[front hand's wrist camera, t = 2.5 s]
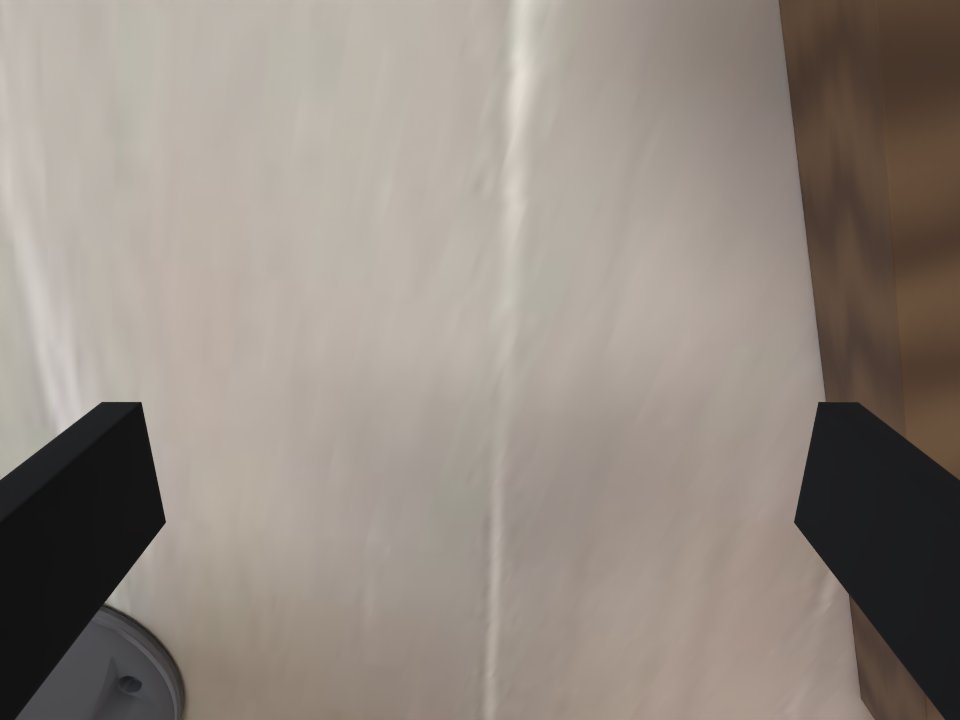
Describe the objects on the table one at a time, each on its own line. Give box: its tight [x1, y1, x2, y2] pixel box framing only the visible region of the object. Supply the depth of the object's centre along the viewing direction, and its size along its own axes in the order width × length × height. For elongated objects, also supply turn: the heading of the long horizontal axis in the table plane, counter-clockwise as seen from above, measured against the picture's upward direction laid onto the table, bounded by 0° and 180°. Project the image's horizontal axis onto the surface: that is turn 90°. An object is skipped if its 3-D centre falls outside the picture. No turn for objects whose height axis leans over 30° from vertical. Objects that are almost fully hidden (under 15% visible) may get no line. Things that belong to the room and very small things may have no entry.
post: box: [779, 0, 960, 720], centre depth 31 cm, size 55×5×8 cm, turn 17°
